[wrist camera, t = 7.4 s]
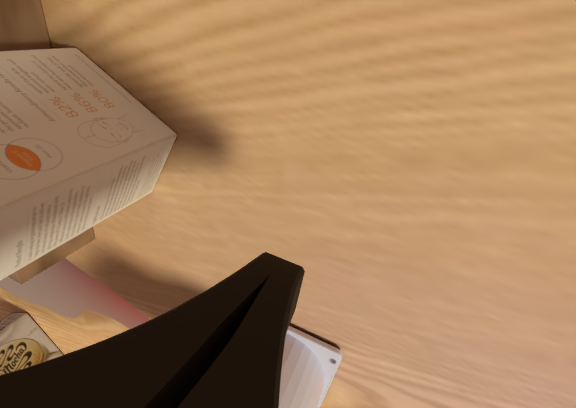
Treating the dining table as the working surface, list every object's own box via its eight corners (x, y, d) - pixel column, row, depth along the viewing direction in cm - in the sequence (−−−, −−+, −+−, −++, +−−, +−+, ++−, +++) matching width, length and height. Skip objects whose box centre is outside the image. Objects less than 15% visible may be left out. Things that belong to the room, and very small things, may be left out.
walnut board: (94, 238, 27) (21, 283, 22) (73, 228, 28) (-3, 270, 23) (3, -161, 14) (-218, -258, 9) (-33, -164, 15) (-258, -256, 10)
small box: (66, 117, 21) (-175, 174, 13) (78, 44, 18) (-237, 56, 10) (154, 193, 22) (-28, 300, 13) (181, 135, 18) (-39, 226, 10)
